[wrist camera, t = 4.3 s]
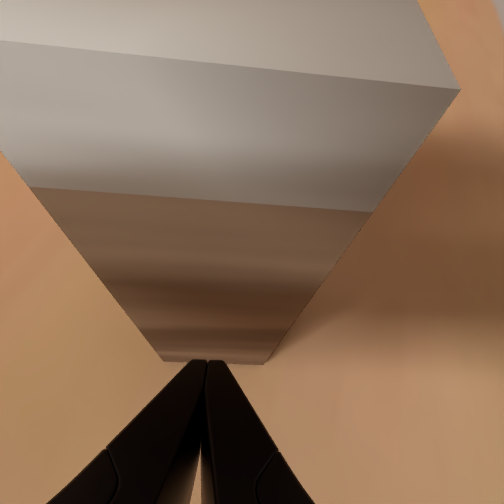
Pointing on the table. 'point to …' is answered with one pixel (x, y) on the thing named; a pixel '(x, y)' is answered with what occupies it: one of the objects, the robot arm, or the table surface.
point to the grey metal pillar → (215, 147)
